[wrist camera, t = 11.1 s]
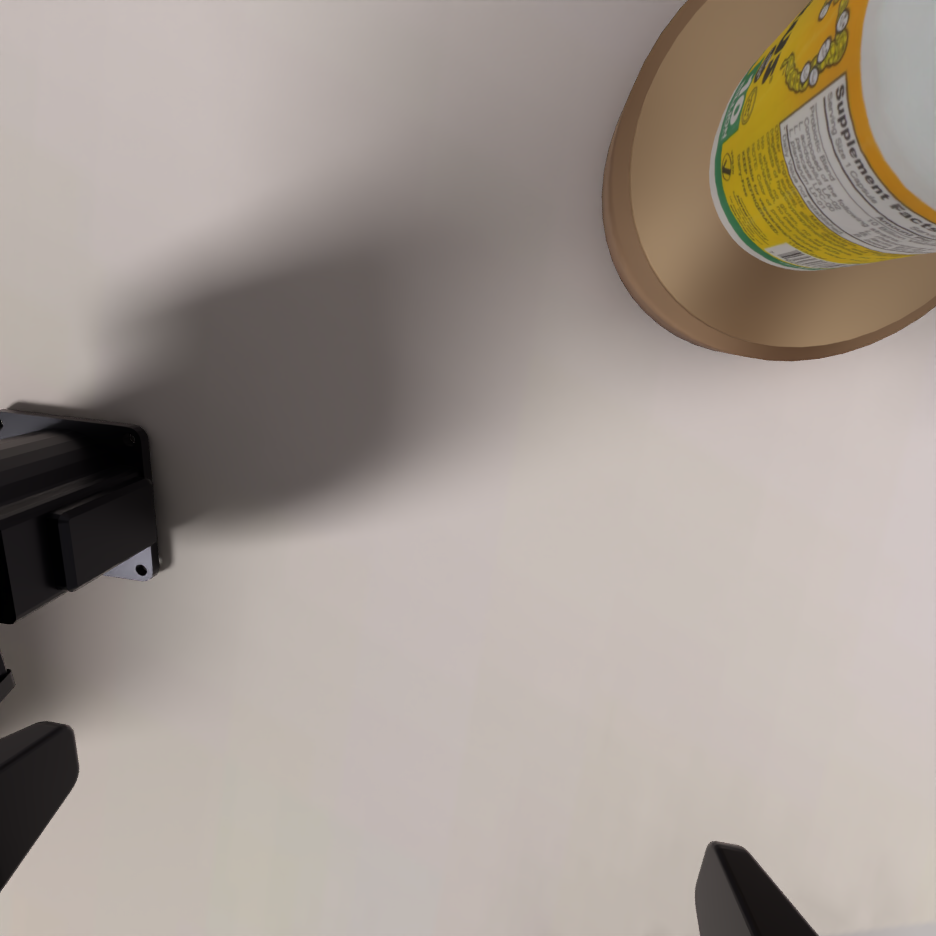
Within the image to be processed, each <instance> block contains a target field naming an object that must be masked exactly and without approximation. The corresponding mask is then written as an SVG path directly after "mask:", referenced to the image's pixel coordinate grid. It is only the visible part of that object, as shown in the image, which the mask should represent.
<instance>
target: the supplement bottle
mask: <svg viewBox="0 0 936 936" xmlns="http://www.w3.org/2000/svg"><path fill="white" fill-rule="evenodd" d="M709 183H710V191H711V196H712V199H713V203H714V206H715V209H716V211H717V214H718V216H719V218H720V220H721V222H722V224H723V225H724V227H725V229H726V230H727V231H728V233H729V234H730V236H731V237H732V238H733V240H734V241H735V242H736V243H737V244H738V245H739V246H740V247H742V248H743V249H744V250H745V251H747V252H748V253H749V254H751V255H753V256H754V257H756V258H758V259H759V260H761V261H763V262H766V263H768V264H771V265H774V266H777V267H781V268H785V269H791V270H800V271H817V270H826V269H834V268H842V267H850V266H855V265H864V264H869V263H875V262H879V261H885V260H891V259H897V258H903V257H909V256H915V255H921V254H927V253H935V252H936V0H811V1H810V2H809V3H808V4H807V5H806V6H805V7H804V9H803V10H802V11H801V12H800V13H799V14H798V15H797V16H796V17H795V19H794V20H793V21H792V22H791V23H790V24H789V25H788V27H787V28H786V29H785V30H784V31H783V32H782V33H781V34H780V35H779V36H778V37H777V39H776V40H775V41H774V42H773V43H772V44H771V45H770V46H769V47H768V48H767V49H766V50H765V51H764V52H763V54H762V55H761V56H760V57H759V59H758V60H757V61H756V62H755V63H754V64H753V66H752V67H751V68H750V69H749V71H748V72H747V73H746V74H745V76H744V77H743V78H742V80H741V81H740V83H739V84H738V86H737V87H736V89H735V90H734V92H733V94H732V96H731V98H730V100H729V102H728V104H727V106H726V109H725V111H724V113H723V116H722V118H721V121H720V124H719V127H718V129H717V132H716V135H715V138H714V142H713V146H712V151H711V157H710V168H709Z"/></svg>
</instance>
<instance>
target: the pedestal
mask: <svg viewBox="0 0 936 936" xmlns="http://www.w3.org/2000/svg"><path fill="white" fill-rule="evenodd" d="M810 1H811V0H688V1H687V2H686V3H685V4H684V5H683V6H682V7H681V8H680V9H679V11H678V12H677V13H676V15H675V16H674V17H673V19H672V20H671V21H670V23H669V24H668V25H667V27H666V28H665V29H664V31H663V32H662V33H661V35H660V36H659V38H658V40H657V41H656V43H655V45H654V46H653V48H652V50H651V51H650V53H649V55H648V56H647V58H646V60H645V61H644V64H643V66H642V68H641V70H640V72H639V75H638V77H637V79H636V81H635V83H634V85H633V88H632V90H631V92H630V95H629V97H628V99H627V102H626V104H625V106H624V109H623V111H622V113H621V116H620V118H619V120H618V123H617V125H616V128H615V131H614V134H613V137H612V140H611V143H610V146H609V150H608V155H607V160H606V165H605V170H604V177H603V189H602V213H603V223H604V230H605V236H606V241H607V244H608V248H609V251H610V254H611V258H612V261H613V263H614V265H615V268H616V270H617V272H618V274H619V276H620V279H621V281H622V282H623V284H624V285H625V287H626V288H627V290H628V292H629V293H630V295H631V296H632V298H633V299H634V300H635V301H636V302H637V303H638V305H639V306H640V307H641V308H642V309H643V310H644V312H645V313H646V314H648V315H649V316H650V317H651V318H652V319H653V320H654V321H656V322H657V323H658V324H659V325H660V326H662V327H663V328H665V329H666V330H668V331H669V332H671V333H672V334H674V335H675V336H677V337H679V338H681V339H684V340H686V341H688V342H690V343H692V344H694V345H697V346H701V347H704V348H707V349H711V350H714V351H719V352H724V353H729V354H734V355H739V356H744V357H750V358H757V359H763V360H773V361H800V360H811V359H820V358H824V357H829V356H834V355H838V354H843V353H846V352H849V351H852V350H855V349H858V348H861V347H864V346H867V345H870V344H872V343H875V342H877V341H879V340H881V339H883V338H885V337H887V336H890V335H892V334H894V333H896V332H898V331H899V330H901V329H903V328H904V327H906V326H908V325H909V324H911V323H913V322H914V321H916V320H918V319H919V318H921V317H922V316H924V315H925V314H926V313H928V312H929V311H930V310H932V309H933V308H934V307H935V306H936V252H935V253H927V254H921V255H915V256H909V257H903V258H897V259H891V260H885V261H879V262H875V263H869V264H864V265H855V266H850V267H842V268H834V269H826V270H817V271H800V270H791V269H785V268H781V267H777V266H774V265H771V264H768V263H766V262H763V261H761V260H759V259H758V258H756V257H754V256H753V255H751V254H749V253H748V252H747V251H745V250H744V249H743V248H742V247H740V246H739V245H738V244H737V243H736V242H735V241H734V240H733V238H732V237H731V236H730V234H729V233H728V231H727V230H726V229H725V227H724V225H723V224H722V222H721V220H720V218H719V216H718V214H717V211H716V209H715V206H714V203H713V199H712V196H711V191H710V183H709V168H710V157H711V151H712V146H713V142H714V138H715V135H716V132H717V129H718V127H719V124H720V121H721V118H722V116H723V113H724V111H725V109H726V106H727V104H728V102H729V100H730V98H731V96H732V94H733V92H734V90H735V89H736V87H737V86H738V84H739V83H740V81H741V80H742V78H743V77H744V76H745V74H746V73H747V72H748V71H749V69H750V68H751V67H752V66H753V64H754V63H755V62H756V61H757V60H758V59H759V57H760V56H761V55H762V54H763V52H764V51H765V50H766V49H767V48H768V47H769V46H770V45H771V44H772V43H773V42H774V41H775V40H776V39H777V37H778V36H779V35H780V34H781V33H782V32H783V31H784V30H785V29H786V28H787V27H788V25H789V24H790V23H791V22H792V21H793V20H794V19H795V17H796V16H797V15H798V14H799V13H800V12H801V11H802V10H803V9H804V7H805V6H806V5H807V4H808V3H809V2H810Z"/></svg>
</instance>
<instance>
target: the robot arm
mask: <svg viewBox="0 0 936 936" xmlns="http://www.w3.org/2000/svg"><path fill="white" fill-rule="evenodd" d="M1 421H2V422H3V424H2V422H1ZM130 434H131V435H132V436H133V437H134V439H135V443H133V441H132V440H131V438H130ZM142 565H143V566H145V567H146V569H147V571H146V570H145V569H144V568H143V566H142ZM158 572H159V558H158V546H157V532H156V520H155V509H154V497H153V485H152V476H151V464H150V452H149V440H148V436H147V433H146V432H145V430H144V429H143V428H141V427H140V426H137V425H132V424H124V423H116V422H107V421H99V420H91V419H82V418H74V417H66V416H57V415H49V414H41V413H32V412H24V411H16V410H7V409H2V410H0V623H4V624H14V623H15V622H17V621H19V620H21V619H22V618H24V617H26V616H27V615H29V614H31V613H32V612H34V611H36V610H37V609H39V608H41V607H43V606H44V605H46V604H48V603H49V602H51V601H53V600H54V599H56V598H58V597H59V596H61V595H63V594H65V593H66V592H68V591H69V592H73V591H76V590H78V589H79V588H81V587H83V586H84V585H86V584H88V583H89V582H91V581H93V580H94V579H96V578H98V577H99V576H101V575H105V576H111V577H118V578H125V579H131V580H138V581H147V580H149V579H151V578H152V577H154V576H155V575H157V573H158ZM14 686H15V682H14V679H13V675H12V672H11V670H10V669H6V666H5V663H4V660H3V656H2V653H1V650H0V702H1V701H2V700H3V699H4V698H5V697H6V695H7V694H8V693H9V692H10V691H11V690H12V689H13V688H14ZM78 775H79V762H78V755H77V748H76V742H75V735H74V731H73V729H72V728H71V727H70V726H69V725H66V724H60V723H54V722H48V721H43V722H38V723H35V724H33V725H31V726H28V727H26V728H24V729H22V730H19V731H17V732H15V733H13V734H10V735H8V736H6V737H4V738H1V739H0V892H1V890H2V889H3V888H4V886H5V885H6V884H7V882H8V881H9V879H10V878H11V876H12V875H13V873H14V872H15V871H16V869H17V868H18V866H19V865H20V863H21V862H22V861H23V859H24V858H25V856H26V855H27V853H28V852H29V850H30V849H31V848H32V846H33V845H34V843H35V842H36V840H37V839H38V838H39V836H40V835H41V833H42V832H43V830H44V829H45V827H46V826H47V825H48V823H49V822H50V820H51V819H52V817H53V816H54V815H55V813H56V812H57V810H58V809H59V807H60V806H61V804H62V803H63V802H64V800H65V799H66V797H67V796H68V794H69V793H70V792H71V790H72V788H73V787H74V785H75V783H76V781H77V778H78ZM695 905H696V913H697V919H698V925H699V931H700V936H819V935H818V934H817V933H816V932H815V931H814V930H813V928H812V927H811V926H810V925H809V924H808V922H807V921H806V920H805V919H804V918H803V916H802V915H801V914H800V913H799V912H798V910H797V909H796V908H795V907H794V906H793V904H792V903H791V902H790V901H789V900H788V898H787V897H786V896H785V895H784V894H783V892H782V891H781V890H780V889H779V888H778V886H777V885H776V884H775V883H774V882H773V880H772V879H771V878H770V877H769V876H768V874H767V873H766V872H765V871H764V870H763V868H762V867H761V866H760V865H759V864H758V862H757V861H756V860H755V859H754V858H753V856H752V855H751V854H750V853H749V852H748V851H747V850H746V849H745V848H743V847H741V846H739V845H735V844H729V843H724V842H718V841H712V842H710V843H709V844H708V846H707V848H706V851H705V855H704V858H703V862H702V865H701V869H700V872H699V876H698V879H697V882H696V887H695Z"/></svg>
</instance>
